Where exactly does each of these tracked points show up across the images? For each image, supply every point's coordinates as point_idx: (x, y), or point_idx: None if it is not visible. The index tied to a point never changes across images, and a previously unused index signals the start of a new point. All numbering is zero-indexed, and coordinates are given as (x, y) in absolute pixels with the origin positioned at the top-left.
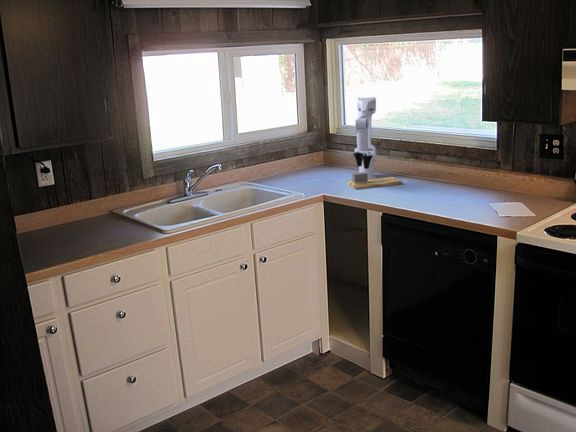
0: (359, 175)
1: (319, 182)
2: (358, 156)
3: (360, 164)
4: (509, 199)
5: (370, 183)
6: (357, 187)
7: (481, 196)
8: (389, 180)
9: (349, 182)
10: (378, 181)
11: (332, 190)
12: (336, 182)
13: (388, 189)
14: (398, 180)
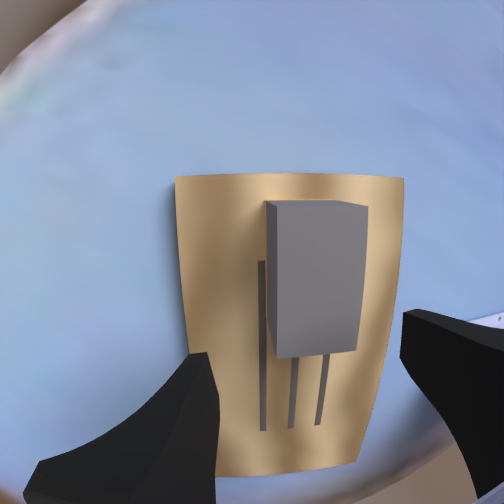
0: (274, 265)
1: (481, 63)
2: (497, 404)
3: (412, 357)
4: (6, 496)
5: (237, 329)
6: (177, 194)
7: (19, 492)
8: (270, 444)
9: (356, 181)
10: (276, 393)
11: (240, 17)
12: (461, 142)
13: (118, 382)
14: (246, 472)
